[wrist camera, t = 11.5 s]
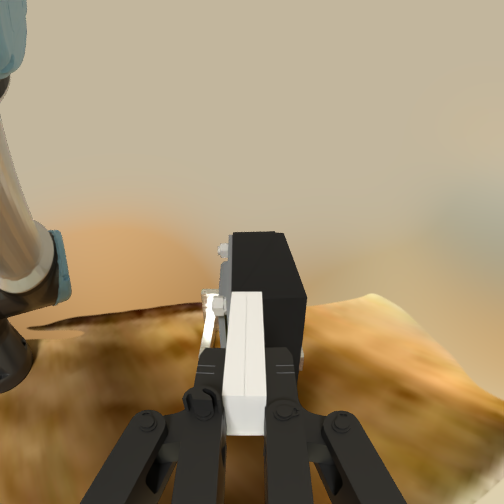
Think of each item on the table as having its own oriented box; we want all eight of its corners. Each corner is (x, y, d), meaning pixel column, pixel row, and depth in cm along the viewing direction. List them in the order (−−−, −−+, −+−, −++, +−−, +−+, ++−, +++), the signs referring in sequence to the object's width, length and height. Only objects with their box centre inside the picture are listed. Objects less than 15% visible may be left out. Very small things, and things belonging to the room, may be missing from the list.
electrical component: (224, 338, 55) (218, 232, 46) (282, 336, 55) (287, 231, 47) (223, 418, 39) (209, 300, 30) (297, 415, 39) (313, 296, 31)
